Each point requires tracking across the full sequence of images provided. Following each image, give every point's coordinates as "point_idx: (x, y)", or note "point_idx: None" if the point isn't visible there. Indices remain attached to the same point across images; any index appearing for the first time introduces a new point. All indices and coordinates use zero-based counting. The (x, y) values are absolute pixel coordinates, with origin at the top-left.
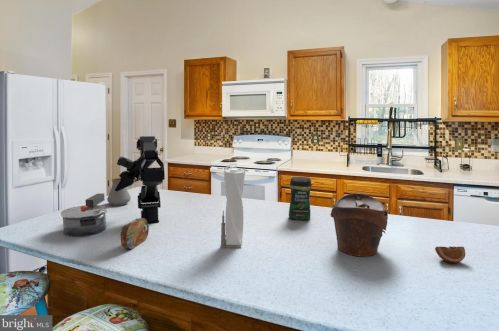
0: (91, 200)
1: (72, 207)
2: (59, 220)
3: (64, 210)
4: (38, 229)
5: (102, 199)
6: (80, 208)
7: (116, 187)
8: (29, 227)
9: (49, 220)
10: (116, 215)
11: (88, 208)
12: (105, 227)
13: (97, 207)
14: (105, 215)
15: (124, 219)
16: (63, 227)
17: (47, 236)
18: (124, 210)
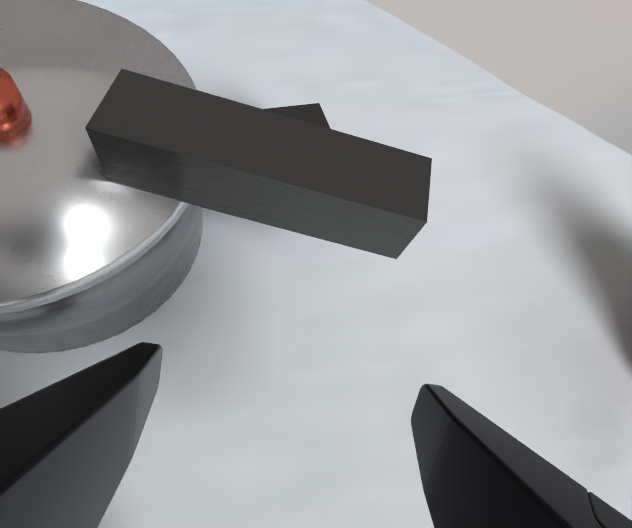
0: (95, 120)
1: (162, 48)
2: (342, 92)
3: (74, 8)
4: (198, 30)
5: (349, 234)
6: (92, 93)
7: (90, 371)
8: (247, 3)
9: (351, 58)
10: (406, 392)
11: (58, 146)
12: (7, 347)
13: (61, 216)
14: (11, 319)
15: (271, 478)
16: None
17: None
18: (549, 441)
